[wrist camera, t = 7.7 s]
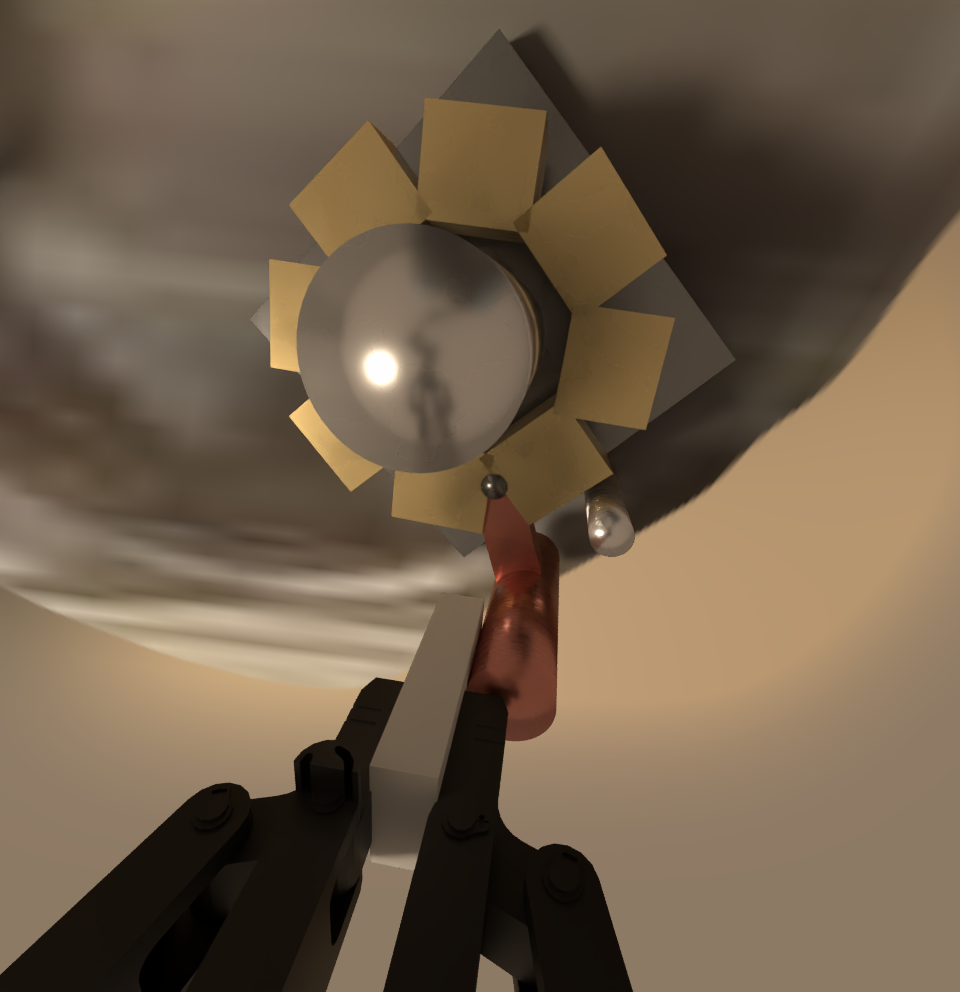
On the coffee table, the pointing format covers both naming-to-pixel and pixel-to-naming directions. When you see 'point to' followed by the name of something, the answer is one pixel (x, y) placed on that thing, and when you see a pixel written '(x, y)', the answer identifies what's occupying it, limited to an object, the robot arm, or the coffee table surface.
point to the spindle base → (634, 297)
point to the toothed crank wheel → (584, 372)
